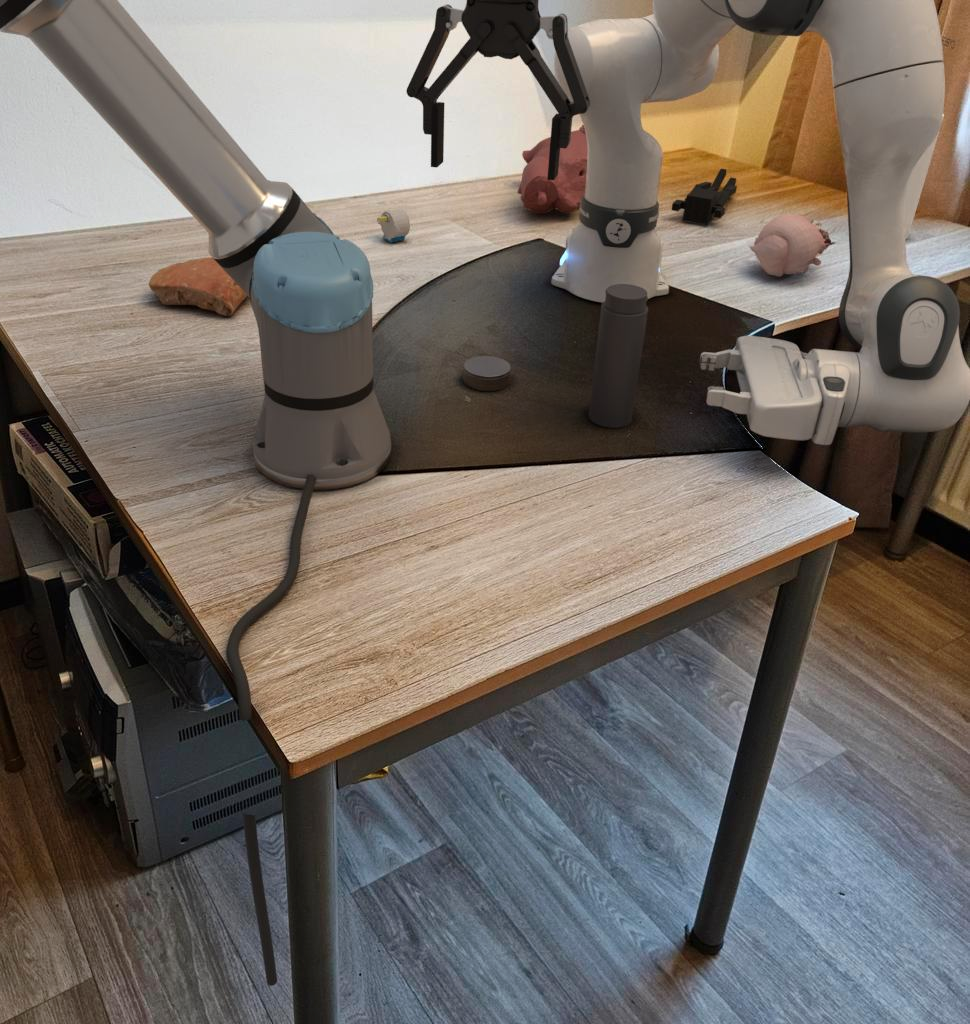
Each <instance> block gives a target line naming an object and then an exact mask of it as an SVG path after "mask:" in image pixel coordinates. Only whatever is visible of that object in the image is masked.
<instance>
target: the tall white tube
mask: <svg viewBox="0 0 970 1024" xmlns="http://www.w3.org/2000/svg"><path fill="white" fill-rule="evenodd" d="M945 39H946V40H945ZM941 40H942V46H946V47H947V48H948V47H949V49H950V48H951V49H952V50H953V49H954V48H955V45H956V40H954V39H951V38H948V37H946V36H941ZM944 42H945V43H944ZM952 43H954V44H953V46H952ZM944 117H945V114H944V113H943V116H942V123H941V125H942V124H943V121H944ZM940 130H941V129H940ZM940 130H939V132H938V134H937V136H936V137H935V139H934V141H933V142H932V143H931V145H930V146H929V147H928V148H927V150H926V151H925V152H924V153H923V155H922V156H921V158H920V159H919V161H918V162H917V164H916V165H915V167H914V169H913V171H912V173H911V175H910V177H909V180H908V183H907V186H906V191H905V240H907V239H909V236H910V233H911V229H912V226H913V222H914V219H915V215H916V211H917V210H918V209H917V208H918V206H919V202H920V198H921V195H922V191H923V188H924V184H925V182H926V178H927V175H928V171H929V169H930V165H931V161H932V158H933V155H934V151H935V148H936V145H937V142H938V141H937V140H938V138H939V134H940Z"/></svg>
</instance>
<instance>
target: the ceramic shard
mask: <svg viewBox="0 0 970 1024" xmlns="http://www.w3.org/2000/svg"><path fill="white" fill-rule="evenodd" d="M148 287H149V288H150V290H151V291H152V292H153V293H155V294H156V296H157V298H158V300H159V301H160V302H161V304H162V305H167V306H168V305H169V306H171V305H173V306H174V305H176V306H177V305H178V306H187V305H188V306H197V307H199V308H200V309H203V310H207V311H213V312H216V313H217V314H218V315H221V316H225V317H229V316H232V315H233V314H234V313H235V311H236V309H237V308H238V307H239V306H240V305H241V303H243V301H244V300H245V299H246V298H247V297H248V296H247V295H246V293H245V292H244V291H243V290H242V289H241V288H240V287H239V286H238V284H237V283H236V282H235V281H234V280H233V279H232V278H231V277H230V276H229V275H228V274H227V273H226V272H225V271H224V269H223V268H222V267H221V266H220V265H219V264H218V263H217V262H216V261H215V260H214V259H213V258H212V257H203V258H201V257H200V258H196V259H190V260H187V261H184V262H178V263H174V264H171V265H168V266H166V267H162V268H160V269H158V270H157V272H155V273H154V274H152V275H151V277H150V279H149V281H148Z"/></svg>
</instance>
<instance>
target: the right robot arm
mask: <svg viewBox="0 0 970 1024" xmlns="http://www.w3.org/2000/svg"><path fill="white" fill-rule="evenodd" d="M652 12H653V13H652V14H650V15H647V16H643V17H631V18H630V17H629V18H599V19H594V20H592V21H588V22H584V23H581V24H578V25H574V26H572V27H570V28H568V39H569V42H570V45H571V48H572V51H573V53H574V56H575V59H576V62H577V65H578V68H579V71H580V74H581V76H582V79H583V82H584V85H585V88H586V91H587V94H588V96H589V99H590V103H591V104H590V107H589V108H588V110H587V111H586V112H585V113H584V114H578V115H579V117H580V119H581V120H580V121H581V122H582V125H584V128H585V133H586V138H587V150H588V151H587V172H586V185H585V194H584V195H583V196H582V199H581V204H580V207H579V208H578V210H579V215H578V221H579V223H578V225H577V226H576V227H575V228H573V230H572V231H571V232H570V233H568V234H567V235H566V239H565V248H566V249H565V251H564V253H563V254H562V256H561V258H560V260H559V267H558V269H556V271H555V272H554V274H553V275H552V276H551V279H550V284H551V285H552V286H555V287H557V288H561V289H562V290H563V289H564V290H566V291H567V292H569V293H570V294H573V296H576V297H578V298H581V299H584V300H588V301H590V302H591V301H592V302H596V303H601V304H602V303H603V302H604V301H605V298H606V293H605V291H606V289H607V288H608V287H609V286H611V285H615V284H630V285H635V286H639V287H641V288H643V289H645V290H646V291H647V296H648V300H649V299H651V298H654V297H660V296H665V295H668V294H669V293H670V286H669V284H668V283H667V281H666V280H665V278H664V276H662V274H661V269H662V268H661V267H662V259H663V252H664V241H663V240H662V238H661V236H660V235H658V233H657V231H656V229H655V228H656V227H657V224H658V219H659V215H660V212H659V211H660V210H659V208H660V203H659V201H658V196H659V190H660V189H659V188H660V183H661V176H662V168H663V160H664V153H663V148H662V146H661V144H660V142H659V141H658V140H657V139H656V138H655V137H654V135H652V134H651V133H649V132H647V131H646V130H644V127H643V123H642V115H641V114H642V113H641V109H642V104H651V103H665V102H667V103H668V102H675V101H679V100H682V99H685V98H688V97H691V96H694V95H696V94H699V93H701V92H703V91H705V90H706V89H707V88H709V86H710V85H711V84H712V82H713V81H714V78H715V76H716V73H717V70H718V68H719V63H720V50H719V49H720V48H719V47H720V46H719V43H720V42H721V40H723V39H724V38H725V37H726V36H727V35H728V34H730V32H732V30H733V29H735V27H736V26H738V27H740V28H741V29H744V30H746V31H748V32H751V33H755V34H759V35H764V36H771V37H773V36H774V37H775V36H776V37H777V36H781V37H782V36H784V37H800V36H801V35H803V34H805V33H815V34H817V35H818V36H820V37H821V38H822V39H823V40H824V43H826V45H827V48H828V52H829V57H830V67H831V80H832V82H831V83H832V89H833V90H832V92H833V103H834V110H835V117H836V125H837V131H838V137H839V142H840V148H841V155H842V161H843V168H844V174H845V175H844V176H845V182H846V206H847V207H846V208H847V223H848V224H847V225H848V247H849V269H848V270H849V271H848V272H849V273H848V277H847V280H846V284H845V287H844V291H843V293H842V296H841V299H840V303H839V308H838V322H839V324H838V325H839V327H840V330H841V332H842V335H843V336H844V338H845V339H846V340H847V342H848V343H849V344H850V345H851V346H853V347H854V348H855V349H858V350H859V351H858V352H856V351H845V350H834V349H833V350H832V349H823V348H822V349H821V348H812V349H811V350H809V352H808V353H807V352H803V351H801V350H800V348H799V346H798V345H797V344H795V343H794V342H792V341H787V340H784V339H778V338H771V337H766V336H757V335H742V336H739V337H737V339H736V342H735V346H734V349H725V350H721V351H717V352H707V351H703V352H701V353H700V357H699V368H700V369H701V371H708V372H715V369H725V368H726V370H728V371H735V374H736V378H737V383H738V387H739V390H740V392H739V393H738V392H734V391H729V390H725V389H724V387H723V386H714V385H710V386H708V387H706V392H705V402H706V404H707V406H711V407H721V408H723V409H725V410H728V411H730V412H733V413H734V414H737V415H738V414H739V415H746V419H747V423H748V426H749V430H750V431H751V432H753V433H755V434H758V435H759V436H762V437H766V438H773V439H780V440H791V441H808V440H811V441H812V443H814V444H815V445H821V446H830V445H832V443H833V441H834V438H835V436H836V433H837V429H838V428H852V427H868V428H871V429H874V430H877V431H880V432H891V433H893V432H894V433H910V434H911V433H912V434H913V433H918V434H919V433H935V432H940V431H944V430H947V429H949V428H951V427H953V426H954V425H955V424H957V423H958V421H959V420H960V419H961V418H962V417H963V416H964V415H965V413H966V411H967V409H968V407H969V405H970V367H969V365H968V364H967V362H966V359H965V357H964V353H963V349H962V346H961V341H960V339H961V338H960V329H959V327H960V326H959V325H960V324H959V323H960V317H961V310H960V304H959V300H958V297H957V295H956V294H955V292H954V291H953V289H952V288H951V287H950V286H949V285H948V284H946V282H944V281H942V280H940V279H939V278H936V277H933V276H929V275H921V274H913V273H912V271H911V270H910V268H909V266H908V263H907V262H908V261H907V246H906V245H907V244H906V239H905V191H906V186H907V183H908V180H909V177H910V175H911V173H912V171H913V169H914V167H915V165H916V164H917V162H918V161H919V159H920V158H921V156H922V155H923V153H924V152H925V151H926V150H927V148H928V147H929V146H930V145H931V143H932V142H933V141H934V139H935V137H936V136H937V134H938V132H939V133H940V131H939V130H941V127H942V124H943V121H942V116H943V114H944V109H945V99H946V98H945V96H946V80H945V79H946V75H945V63H944V51H943V49H944V48H943V45H942V44H943V41H942V40H943V39H942V35H941V33H942V32H941V27H940V22H939V16H938V11H937V7H936V3H935V0H652ZM552 63H553V64H552V68H553V69H552V70H553V75H554V77H555V78H556V80H557V81H558V83H559V84H560V86H561V88H562V89H563V91H564V92H565V94H566V95H567V97H568V98H569V100H570V101H571V102H574V101H573V98H572V96H571V93H570V90H569V87H568V84H567V82H566V79H565V76H564V73H563V70H562V67H561V65H560V62H559V59H558V56H557V53H556V51H554V54H553V62H552ZM941 123H942V124H941ZM938 135H939V134H938Z"/></svg>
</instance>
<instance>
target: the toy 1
mask: <svg viewBox="0 0 970 1024" xmlns="http://www.w3.org/2000/svg"><path fill="white" fill-rule="evenodd" d="M727 171H728V170H727V169H726V168H720V169H719V171H718V173H717V175H716V177H715V178H714V180H713V182H710V181H704V182H700V183H697V184H695V185H694V187H693V188H692V190H691V191H690V192H688V193H687V195H686V197H685V198H684V200H683V199H676V200H674V201H673V202H672V205H671V211H673V212H680V210H683V216H682V221H683V222H687V223H693V224H699V225H706V226H707V225H709V223H711V221H712V220H713V218H716V219H722V217H723V216H724V215H725V212H726V204H727V203H728V201H729V199H730V198H731V197H732V196H734V195H735V194H736V193H737V188H738V185H736V182H737V177H732V176H731V177H730V178H729V179H728V180H727V182H726V183H725V185H724V187H723V188H722V190H719V189H720V188H721V186H722V184H723V181H724V180H725V178H726V176H727Z"/></svg>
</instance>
